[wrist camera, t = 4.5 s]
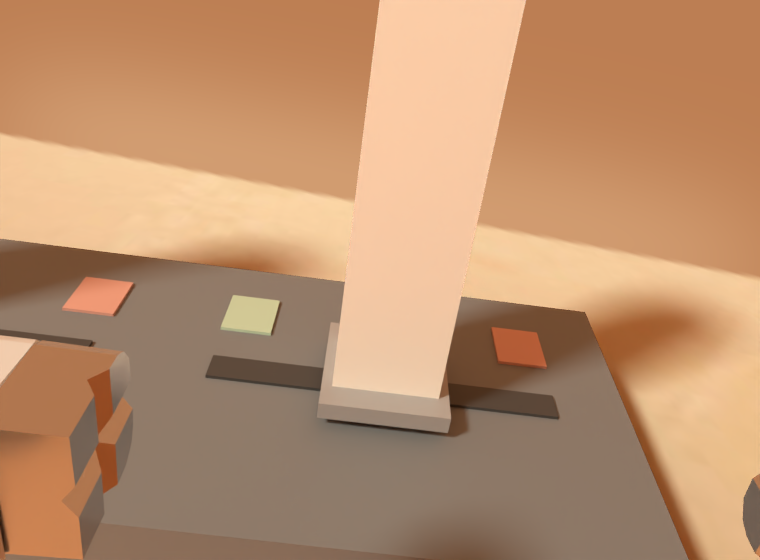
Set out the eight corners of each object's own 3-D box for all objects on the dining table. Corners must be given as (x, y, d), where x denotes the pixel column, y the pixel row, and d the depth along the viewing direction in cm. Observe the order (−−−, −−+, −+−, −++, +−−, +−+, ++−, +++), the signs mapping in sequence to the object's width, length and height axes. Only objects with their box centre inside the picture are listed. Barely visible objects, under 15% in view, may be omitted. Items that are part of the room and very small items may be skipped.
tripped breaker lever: (440, 349, 23) (531, -82, 17) (447, 433, 20) (565, -70, 14) (329, 335, 23) (380, -104, 17) (316, 417, 20) (375, -98, 13)
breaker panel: (571, 355, 28) (585, 309, 27) (672, 641, 18) (702, 585, 17) (-195, 261, 27) (-210, 209, 26) (-573, 510, 16) (-623, 440, 15)
